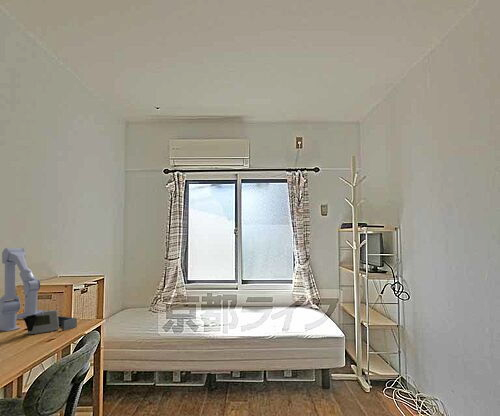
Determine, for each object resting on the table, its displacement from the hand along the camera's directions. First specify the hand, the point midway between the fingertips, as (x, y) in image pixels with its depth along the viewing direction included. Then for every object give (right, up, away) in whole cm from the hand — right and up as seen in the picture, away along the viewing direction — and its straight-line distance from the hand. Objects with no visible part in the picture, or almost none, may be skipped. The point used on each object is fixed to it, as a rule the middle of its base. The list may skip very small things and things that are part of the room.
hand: (30, 330), depth 217 cm
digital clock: (+3, -3, +8) cm, 9 cm away
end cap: (+7, -4, +18) cm, 20 cm away
